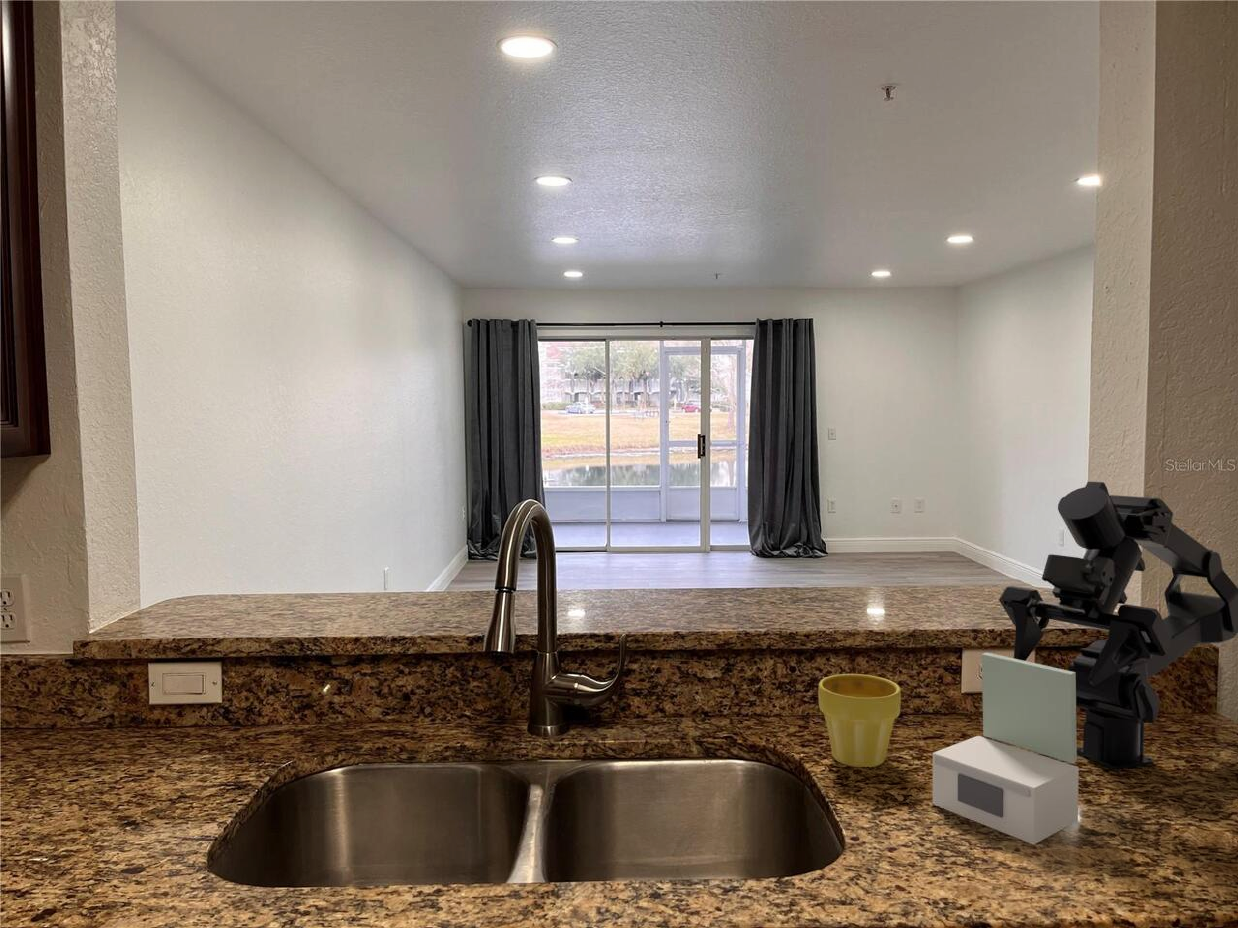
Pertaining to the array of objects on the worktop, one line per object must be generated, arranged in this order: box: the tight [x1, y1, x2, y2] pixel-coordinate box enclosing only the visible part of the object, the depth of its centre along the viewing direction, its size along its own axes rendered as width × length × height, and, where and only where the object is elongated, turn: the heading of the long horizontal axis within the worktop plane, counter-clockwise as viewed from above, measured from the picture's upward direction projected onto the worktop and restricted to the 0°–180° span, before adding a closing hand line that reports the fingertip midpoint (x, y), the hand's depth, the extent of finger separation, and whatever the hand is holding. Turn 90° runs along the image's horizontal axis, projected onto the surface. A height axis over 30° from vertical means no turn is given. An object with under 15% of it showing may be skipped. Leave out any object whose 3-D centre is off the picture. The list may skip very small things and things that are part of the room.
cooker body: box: [932, 735, 1079, 846], centre depth 97 cm, size 9×12×6 cm
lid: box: [981, 652, 1078, 764], centre depth 100 cm, size 10×11×2 cm
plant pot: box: [818, 673, 902, 768], centre depth 113 cm, size 10×10×10 cm
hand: (1052, 673), depth 103 cm, fingers open, 9 cm apart
